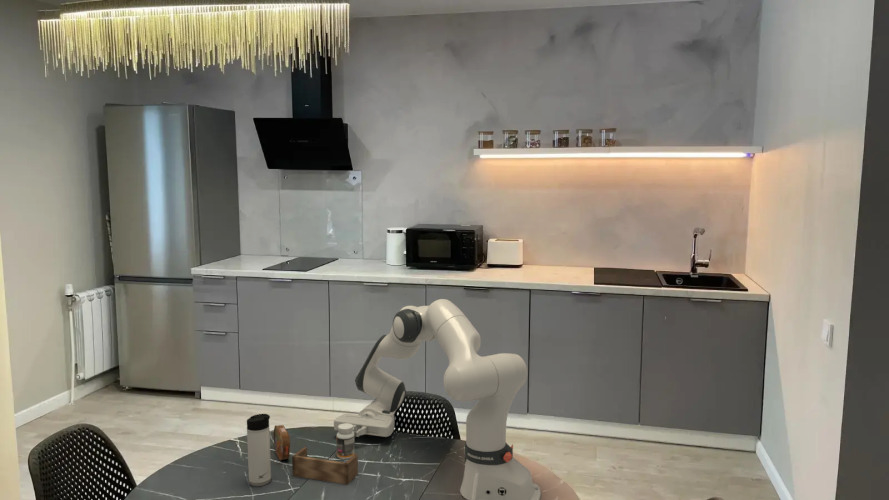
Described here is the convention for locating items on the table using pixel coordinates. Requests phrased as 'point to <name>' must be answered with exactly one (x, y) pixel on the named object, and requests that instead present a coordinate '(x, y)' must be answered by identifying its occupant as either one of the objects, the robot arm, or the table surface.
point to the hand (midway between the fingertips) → (353, 434)
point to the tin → (281, 442)
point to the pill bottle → (345, 441)
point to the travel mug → (259, 450)
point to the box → (324, 468)
